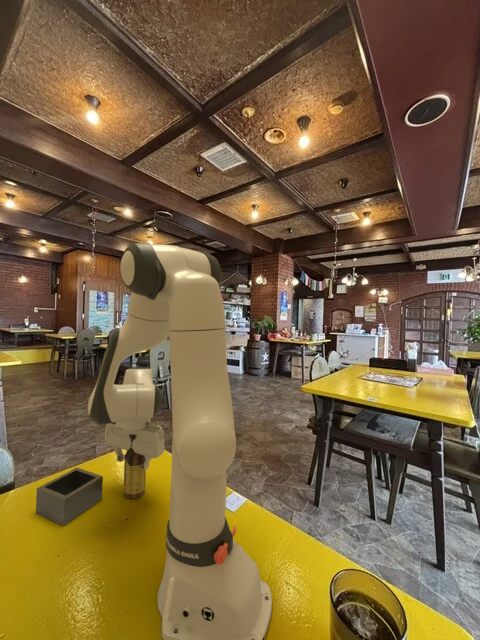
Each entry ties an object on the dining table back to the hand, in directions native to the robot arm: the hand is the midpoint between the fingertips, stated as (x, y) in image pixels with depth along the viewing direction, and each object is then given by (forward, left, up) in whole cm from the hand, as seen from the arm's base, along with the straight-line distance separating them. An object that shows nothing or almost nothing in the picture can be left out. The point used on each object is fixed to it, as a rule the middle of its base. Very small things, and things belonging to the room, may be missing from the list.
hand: (132, 464), depth 86 cm
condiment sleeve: (+11, +11, -9) cm, 19 cm away
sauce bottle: (-1, -1, -9) cm, 9 cm away
